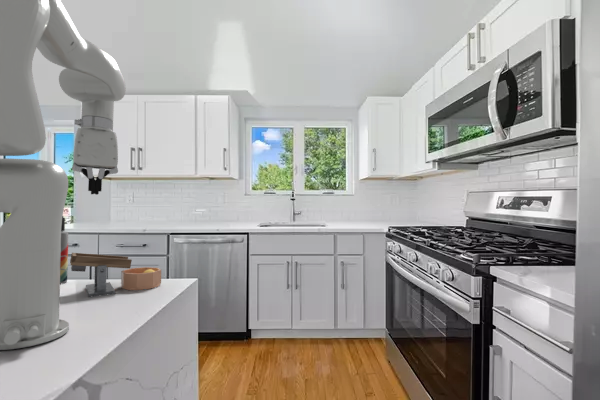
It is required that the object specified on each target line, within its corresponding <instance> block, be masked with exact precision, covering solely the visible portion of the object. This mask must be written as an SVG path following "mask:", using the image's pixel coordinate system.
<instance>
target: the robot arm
mask: <svg viewBox="0 0 600 400" xmlns="http://www.w3.org/2000/svg"><path fill="white" fill-rule="evenodd" d="M36 49H38V51H39V53H40V54H41V55H42V56H43V57H44V58H45V59H46V60H47V61H49V62H50V63H53V64H55V65H57V66H60V67H62V68H64V69H62V70H61V71H60V72H59V76H58V83H59V86H60V89H61V91H62V92H63V93H64V94H65V95H67V96H68V97H70V98H71V99H73V100H76V101H78V102H81V118H79V119H74V125H77V126H78V128H77V131H76V134H75V139H74V148H73V164H72V167H71V169H72V170H73V171H75V172H78V173H81V174H83V175H84V176H85V177H86V178H87V179H88V186H87V191H88V192H90V195H99V192H102V185H103V179H104V178H106V177H107V176H108V175H114V174H115V175H116V174H117V173H118V172H119V169H118V162H119V149H118V148H119V147H118V137H117V133H116V132H114V111H115V110H114V108H115V106H114V105H115V102H118V101H121V100H122V99H123V98H124V97H125V95H126V88H127V87H126V82H125V79H124V76H123V74H122V71H121V70H120V67H119V66H118V63H117V61H116V60H115V59H114V58H113V57H112V56H111V55H110V54H109V53H107V52H106V51H105V50H103V49H101V48H100V47H98V46H97V45H95V44H94V43H92V42H90V41H89V40H88V39H86V38H84V37H82V36H81V35H80V32H79V31H78V30H77V27H76V26H75V24H74V22H73V21H72V19H71V17H70V15H69V13H68V11H67V10H66V7H65V6H64V4H63V3H62V0H0V156H1V157H2V156H3V157H14V156H15V157H19V156H20V157H21V156H30V155H34V154H37V153H39V152H41V150H42V149H43V148H44V147H45V145H46V141H47V140H46V139H47V137H46V136H47V135H46V134H47V133H46V130H45V129H46V127H45V123H44V119H43V115H42V110H41V106H40V102H39V98H38V94H37V89H36V85H35V82H34V77H33V61H34V60H33V59H34V56H35V53H36ZM93 169H98V174H97V176H96V178H95V176H94V173H93V172H94V171H93ZM68 191H69V179H68V175H67V172H66V171H65V170H64V169H63V168H62V167H61V166H59V165H58V164H56V163H54V162H52V161H48V160H43V159H34V158H33V159H32V158H0V213H5V214H10V215H9V216H8V217H7V219H6V220H5V221H4V222H3V223H2V225H1V226H0V351H6V350H7V351H8V350H9V351H10V350H16V349H24V348H29V347H34V346H37V345H41V344H45V343H47V342H51V341H54V340H56V339H58V338H61V337H62V336H64V335H65V334H66V333H68V331H69V330H70V329H69V328H70V323H69V322H68V321H67V320H65V319H60V301H61V300H60V298H61V297H60V291H61V284H60V257H61V226H62V216H64V209H65V204H66V202H67V196H68Z"/></svg>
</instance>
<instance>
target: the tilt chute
mask: <svg viewBox="0 0 600 400" xmlns="http://www.w3.org/2000/svg"><path fill="white" fill-rule="evenodd" d="M69 262H70V263H69V264H70V266H71V267H70V269H71V272H81V273H82V272H86V268H87V267H94V268H95V267H98V265H107V266H106V268H114V269H115V268H116V269H131V265H132V258H131V259H130V258H129V256H123V255H122V256H121V255H110V254H109V255H108V254H96V253H83V252H71V255H70V259H69Z"/></svg>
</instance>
